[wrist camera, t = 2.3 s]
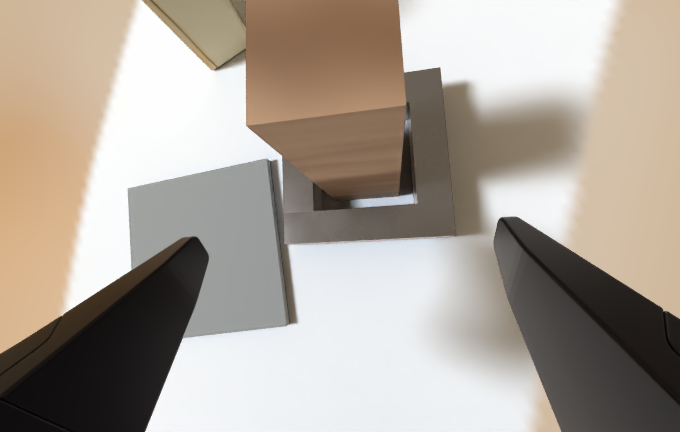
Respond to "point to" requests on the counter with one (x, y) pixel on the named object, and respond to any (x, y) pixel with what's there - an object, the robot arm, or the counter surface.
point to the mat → (219, 243)
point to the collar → (385, 221)
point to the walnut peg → (329, 90)
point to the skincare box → (204, 27)
